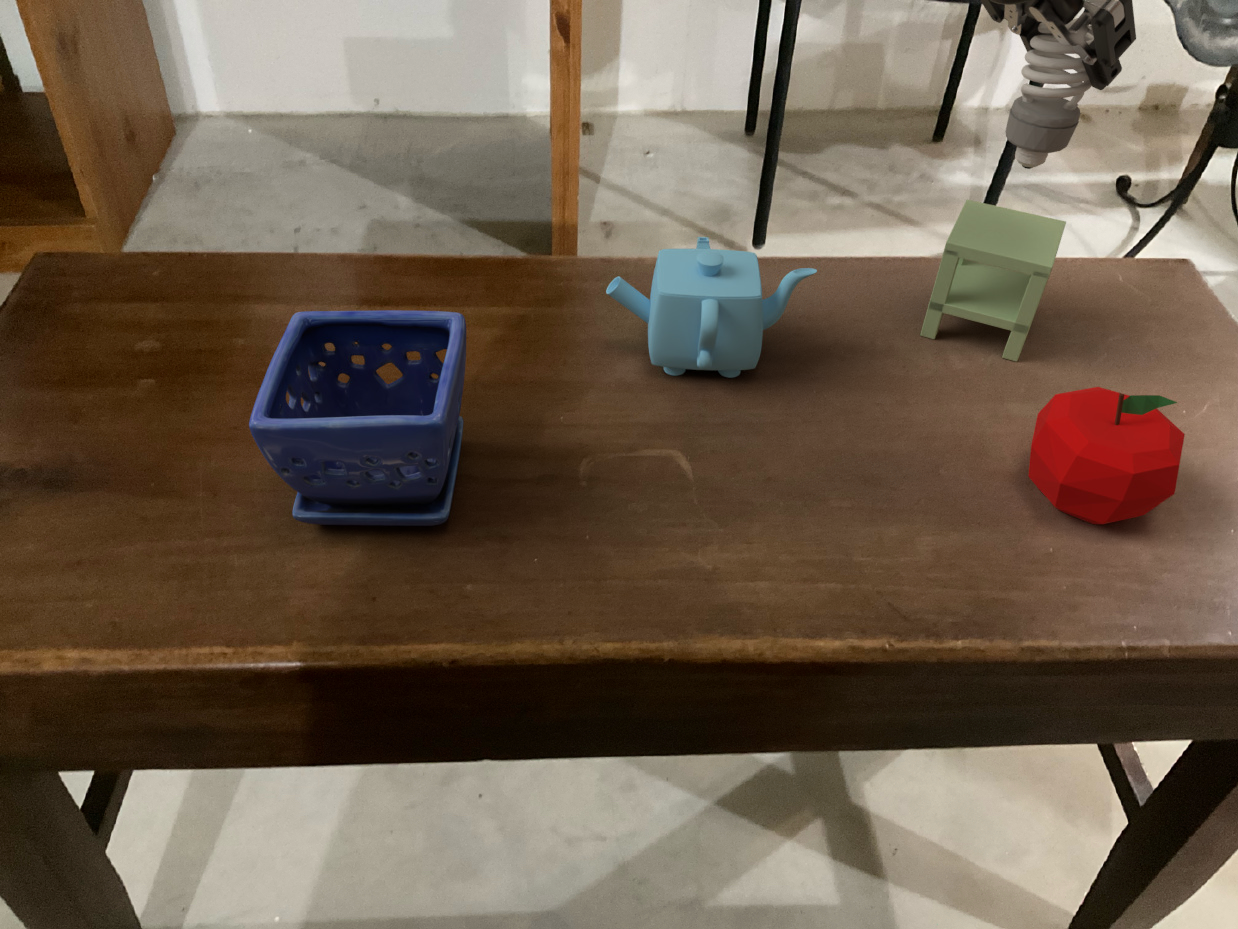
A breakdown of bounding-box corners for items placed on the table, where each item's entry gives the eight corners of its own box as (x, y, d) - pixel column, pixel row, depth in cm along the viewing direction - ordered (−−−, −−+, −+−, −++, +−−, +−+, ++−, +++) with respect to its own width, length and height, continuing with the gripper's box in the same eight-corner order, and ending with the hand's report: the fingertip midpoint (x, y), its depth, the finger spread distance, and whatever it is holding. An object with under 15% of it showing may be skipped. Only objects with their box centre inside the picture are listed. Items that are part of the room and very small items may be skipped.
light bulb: (991, 176, 80) (1038, 25, 71) (992, 149, 83) (1037, 3, 75) (1062, 187, 78) (1118, 35, 70) (1060, 159, 82) (1112, 11, 74)
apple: (1027, 536, 72) (1072, 435, 65) (1001, 443, 79) (1040, 344, 73) (1173, 550, 71) (1235, 449, 64) (1133, 454, 79) (1184, 356, 72)
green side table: (1032, 313, 94) (1066, 221, 87) (1017, 362, 88) (1052, 267, 81) (940, 290, 97) (966, 198, 90) (919, 335, 91) (946, 241, 84)
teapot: (602, 392, 83) (602, 293, 77) (609, 303, 94) (610, 209, 87) (808, 400, 83) (827, 301, 76) (793, 309, 93) (808, 216, 87)
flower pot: (464, 546, 70) (447, 422, 62) (281, 547, 70) (240, 421, 61) (480, 428, 80) (467, 307, 71) (320, 428, 79) (289, 306, 71)
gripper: (1144, -115, 58) (1189, 56, 71) (974, -159, 67) (1040, -1, 80) (1054, -10, 60) (1113, 138, 72) (900, -67, 69) (976, 74, 81)
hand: (1075, 65), depth 76 cm, fingers closed on light bulb, 5 cm apart
